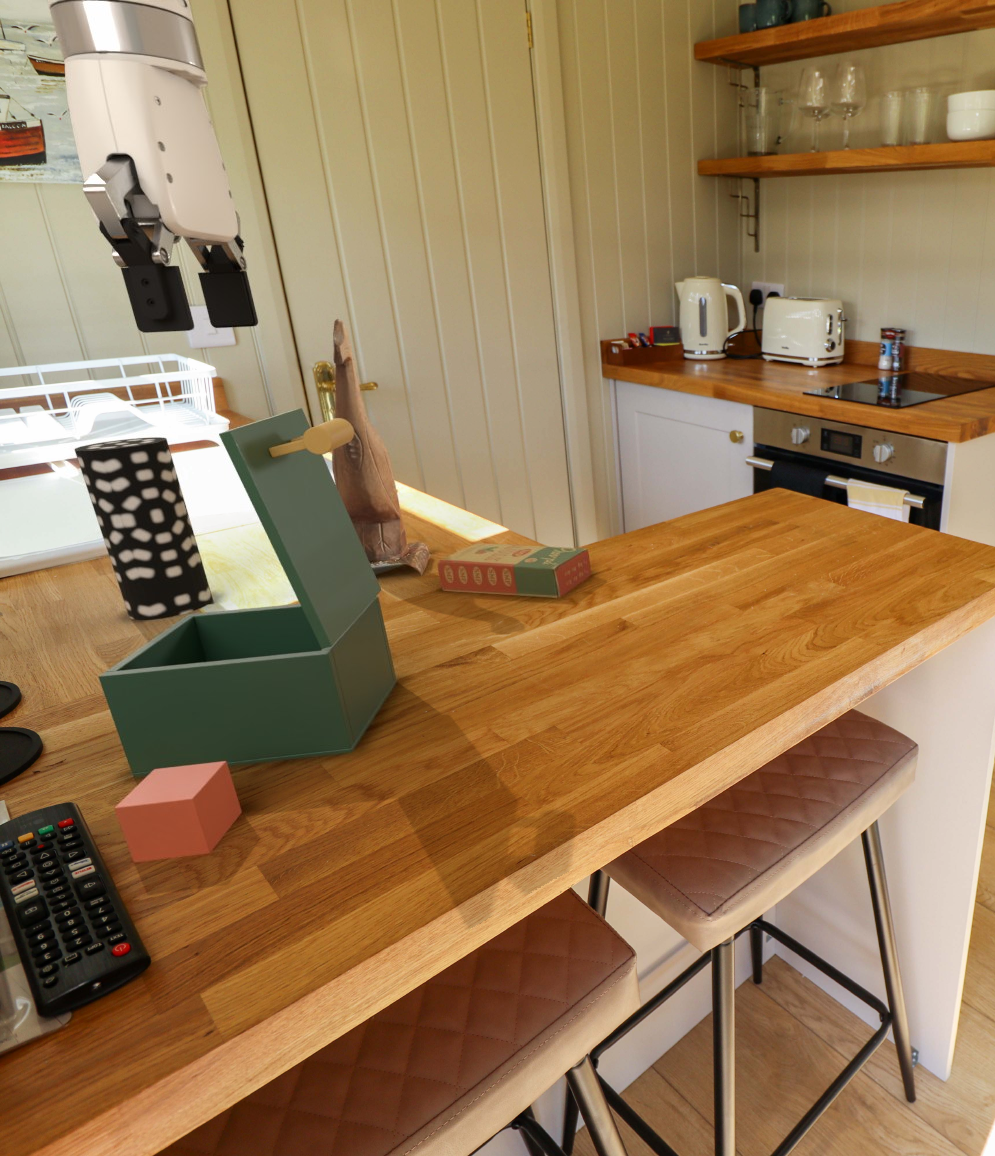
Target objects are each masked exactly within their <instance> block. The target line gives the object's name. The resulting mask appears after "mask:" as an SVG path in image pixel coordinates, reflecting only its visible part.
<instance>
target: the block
mask: <svg viewBox="0 0 995 1156" xmlns="http://www.w3.org/2000/svg"><path fill="white" fill-rule="evenodd" d="M233 781H234V780H233V778H232V775H231V772H230V768H229V766H228V765H227V761H222V762H213V763H204V764H196V765H187V766H178V767H169V768H161V769H154V770H153V771H152V772H151V773H150V774H149V775H148V776H145V778H143V779H142V780H141V781H140V782H139V783H138V784H137V785H136V786H135V787H134V788H133V789H132V790H131V791H130V792H129V793H128V794H127V795H125V797H124V798H123V799H122V800H121V801H120V802H119V803H118V804H116V806H115V807H114V808H113V809H114V812H115V814H116V817H117V820H118V823H119V825H120V828H121V832H122V833H123V837H124V839H125V842H126V845H127V848H128V850H129V853H130V856H131V859H132V861H133V863H143V862H149V861H158V860H167V859H173V858H181V857H183V858H184V857H189V856H190V857H191V856H197V855H204V854H205V855H207V854H210V853H212V852H213V850H214V849H215V847H216V846H217V845H218V844H219V842H220V841H221V840H222V838H223V837H224V836H225V835H226V834H227V832H228V831H229V829H230V828H231V827H232V825H233V824H234V823H235V822H236V820H237V819H238V818H239V817H240V816H241V814H242V812H243V811H242V807H241V805H240V801H239V798H238V795H237V794H238V793H237V792H236V788H235V785H234V782H233Z"/></svg>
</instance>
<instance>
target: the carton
mask: <svg viewBox="0 0 995 1156" xmlns="http://www.w3.org/2000/svg"><path fill="white" fill-rule="evenodd" d="M590 559H591V558H590V553H589V550H588V548H585V547H564V546H563V547H561V546H545V545H544V546H543V545H542V546H541V545H525V544H523V545H520V544H503V543H485V542H483V543H482V542H481V543H480V542H476V543H473V544H471V545H470V546H466V547H464V548H462V549H460V550H458V551H456V552H454V553H452V554H450V555H448V556H446V557H444V558H442V559H440V560H438V561H437V570H438V577H439V582H440V587H441V590H442V591H444V592H459V593H476V594H490V595H492V594H493V595H506V596H522V597H523V596H525V597H537V598H538V597H539V598H550V599H551V598H553V599H558V598H561V597H563V596H564V595H565V594H567V593H569V592H570V591H572V590H573V589H574V588H575V587H577V586H579V585H580V584H581V583H582V582H584V581H586V580H587V579H588V578H590V577H591V576H592V569H591V567H592V566H591V560H590Z"/></svg>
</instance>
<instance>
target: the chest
mask: <svg viewBox="0 0 995 1156" xmlns="http://www.w3.org/2000/svg"><path fill="white" fill-rule="evenodd" d="M98 679H99V683H100V685H101V689H102V692H103V695H104V697H105V701H106V703H107V706H108V708H109V712H110V714H111V718H112V720H113V724H114V725H115V729H116V731H117V734H118V737H119V740H120V743H121V747H122V749H123V752H124V755H125V757H126V760H127V763H128V766H129V769H130V772H131V773H132V777H133V778H140V777H141V778H142V777H147V776H148V775H149V774H150V773H151V772H152V771H153V770H154V769H161V768H169V767H178V766H187V765H196V764H204V763H213V762H222V761H227V765H228V767H236V766H245V765H254V764H262V763H270V762H271V763H272V762H279V761H280V762H281V761H287V760H297V759H306V758H316V757H323V756H331V755H341V754H348V753H349V754H350V753H353V752H354V751H355V749H356V747H357V745H358V744H359V742H360V741H361V739H363V736H364V734H365V733H366V731H367V730H368V728H369V727H370V725H371V724H372V722H373V720H374V719H375V717H376V716H377V714H378V712H379V711H380V710H381V708H382V706H383V705H384V703H385V702H386V700H387V698H388V697H389V695H390V694H391V692H392V690H394V687H395V686H396V684H397V683H398V680H397V676H396V672H395V667H394V662H393V657H392V654H391V647H390V644H389V638H388V634H387V630H386V625H385V621H384V617H383V611H382V607H381V602H380V598H379V596H376V597H375V598H374V599H373V600H372V601H371V603H370V604H369V605H368V606H367V607H366V608H365V609H364V610H363V612H362V613H361V614H360V615H359V616H358V617H357V618H356V619H355V621H354V622H353V623H352V624H351V625H350V626H349V627H348V628H347V630H346V631H345V632H344V633H343V634H342V635H341V636H340V638H339V639H338V640H337V641H336V642H335V643H334V644H333V645H332V646H331V647H327V648H324V649H322V648H321V647H320V645H319V642H318V640H317V638H316V636H315V634H314V632H313V630H312V628H311V626H310V624H309V622H308V619H307V617H306V615H305V613H304V611H303V609H302V607H301V605H300V603H293V604H292V603H291V604H283V605H281V604H280V605H271V606H261V607H252V608H251V607H249V608H239V609H228V610H217V611H207V612H206V611H205V612H195V613H194V612H193V613H187V615H185V616H184V617H182V618H181V619H180V620H178V621H176V622H175V623H174V624H172V625H170V626H169V627H167V629H165V630H163V631H162V632H161V633H159V634H158V635H156V636H155V637H154V638H152V639H150V640H149V641H148V642H147V643H145V644H143V645H141V646H140V647H139V648H138V649H136V650H135V651H133V652H132V653H130V654H129V655H128V656H126V657H125V658H123V659H122V660H121V661H119V662H117V663H116V664H115V665H113V666H112V667H110V668H109V669H107V670H106V671H105V672H102V674H99V675H98Z"/></svg>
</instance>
